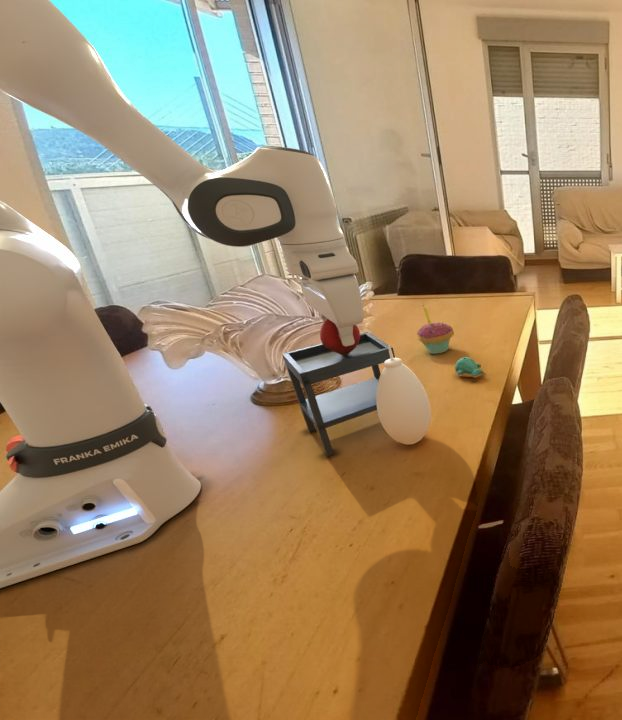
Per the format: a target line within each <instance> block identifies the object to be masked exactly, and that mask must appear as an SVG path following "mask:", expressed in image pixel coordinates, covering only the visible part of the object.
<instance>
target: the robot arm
mask: <svg viewBox="0 0 622 720" xmlns="http://www.w3.org/2000/svg"><path fill="white" fill-rule="evenodd" d="M0 92H2V93H4V94H6V95H8V96H10V97H12V98H13V99H15V100H17V101H19V102H20V103H23V104H25V105H27V106H28V107H31V108H33V109H35V110H37V111H39V112H41V113H43V114H45V115H47V116H49V117H52V118H53V119H56V120H58V121H59V122H61V123H63V124H65V125H67V126H70V127H71V128H73V129H75V130H76V131H78V132H80V133H82V134H84V135H85V136H87V137H88V138H90V139H92V140H93V141H95V142H97V143H98V144H99V145H101V146H102V147H104V148H105V149H106V150H107V151H108V152H110V153H112V155H114V156H116V157H117V158H118V159H119V160H121V161H122V162H123V163H125V164H126V165H127V166H129V167H130V168H132V169H133V170H134V171H135V172H137V173H138V174H139V175H141V176H142V177H143V178H145V179H146V180H147V181H149V182H150V183H151V184H152V185H154V186H155V187H156V188H158V190H159V191H161V192H162V193H163V195H165V196H166V197H167V198H168V199H169V201H170V202H171V204H172V205H173V208H174V209H175V210H176V212H177V213H178V215H179V217H180V218H181V219H182V220H183V222H184V223H185V225H187V226H188V228H190V229H191V230H192V231H193V232H195V233H197V234H198V235H200V236H201V237H204V238H206V239H208V240H211V241H213V242H214V243H215V242H216V243H217V244H219V245H223V246H226V247H227V246H228V247H232V248H247V247H253V246H255V245H258V244H261V243H263V242H267V241H270V240H273V239H277V241H278V244H279V247H280V250H281V254H282V257H283V260H284V262H285V263H284V264H285V265H286V270H287V272H288V274H290V275H293V276H298V281H299V284H300V287H301V291H302V295H303V299H304V301H305V302H306V304H307V306H309V307H311V308H312V309H313V310H314V311H316V312H317V313H318V314H319V316H320V319H321V320H322V323H324V322H325V321H326V320H327V319H329V320H330V321H332V322H333V323H335V324H336V327H337V328H338V332H339V335H338V336H339V339H340V343H341V344H342V345H343V346H350V345H353V344H354V343H355V341H354V337H353V325H356V326H358V325H361V324H363V323H364V318H365V312H364V306H363V305H364V304H363V300H362V295H361V290H360V289H361V288H360V286H359V282H358V278H357V277H356V275H355V274H358V273H359V265H358V263H357V261H356V259H355V258H354V257H353V255H352V254H351V252H350V251H349V247H348V244H347V242H346V238H345V237H346V236H345V233H344V232H343V230H342V229H341V226H340V224H339V221H338V207H337V203H336V199H335V196H334V193H333V190H332V187H331V184H330V183H331V182H330V180H329V178H328V175H327V172H326V171H325V168H324V165H323V163H322V162H321V161H320V159H319V158H317V157H316V156H315V155H314V154H313V153H311V152H308V151H306V150H303V149H298V148H292V147H286V146H274V145H261V146H259V147H256V149H255V150H254V151H253V152H252V153H251V154H249V155H248V156H246V157H245V158H243V159H242V160H241V161H239V162H237V163H234V164H232V165H231V166H229V167H227V168H225V169H223V170H220V171H216V170H214V169H212V168H210V167H208V166H207V165H204V164H202V162H199V161H198V160H197V159H196V158H194V157H193V156H192V155H191V154H189V153H188V152H187V150H184V148H183V147H181V146H180V145H179V144H177V143H176V142H175V141H174V140H173V139H172V138H170V137H169V136H168V135H167V134H166V133H164V131H162V130H161V129H160V128H158V127H157V126H156V125H155V124H154V123H153V122H151V120H149V119H148V118H147V117H146V116H144V114H143V113H141V112H140V110H138V109H137V108H136V107H135V105H133V103H132V102H131V101H130V100H129V99H128V98H127V97H126V95H125V94H124V93H123V92H122V90H121V88H120V87H119V86H118V85H117V83H116V81H115V80H114V78H113V77H112V74H111V73H110V72H109V70H108V68H107V66H106V65H105V63H104V61H103V59H102V58H101V56H100V54H99V53H98V51H97V50H96V48H95V47H94V45H93V44H91V42H90V41H89V40H88V39H87V38H86V37H85V35H84V34H82V32H81V31H80V30H79V29H78V28H77V27H76V26H75V25H74V24H73V22H71V20H70V19H68V17H67V16H66V15H65V14H64V13H63V12H62V11H61V10H60V9H59V8H58V7H57V6H56V5H55V4H54V3H53V2H51V0H0ZM82 280H83V271H82V267H81V264H80V263H79V261H78V259H77V258H76V256H75V255H74V254H73V252H72V251H70V249H68V248H67V247H66V246H65V245H64V244H63V243H61V242H60V241H59V240H57V239H55V238H54V237H53V236H52V235H50V234H48V233H47V232H46V231H44V230H43V229H41V228H40V227H39V226H37V225H36V224H35V223H33V222H32V221H30V220H29V219H28V218H26V217H25V216H24V215H22V214H20V213H19V212H18V211H16V210H15V209H13V208H12V207H11V206H9V205H8V204H7V203H5V202H4V201H2V200H1V199H0V405H1V406H2V407H3V409H4V410H5V412H6V414H7V415H8V417H9V418H10V420H11V421H12V423H13V425H14V426H15V427H16V429H17V431H18V432H19V434H20V435H15V436H12V437H11V438H9V439H8V442H7V443H6V446H5V451H6V453H7V454H6V457H5V458H6V460H7V465H8V466H9V467H10V469H11V471H12V472H13V473H16V475H15V476H14V477H13V478H11V480H10V481H9V482H8V483H7V484H6V485H5V486H3V488H2V489H0V589H2V588H5V587H8V586H12V585H15V584H17V583H21V582H24V581H27V580H30V579H32V578H36V577H39V576H42V575H45V574H48V573H52V572H54V571H57V570H60V569H64V568H66V567H69V566H72V565H75V564H78V563H82V562H85V561H88V560H91V559H94V558H97V557H100V556H103V555H106V554H109V553H112V552H116V551H120V550H122V549H124V548H127V547H130V546H133V545H137V544H139V543H142V542H144V541H145V540H147V539H148V538H150V537H151V536H152V535H153V534H154V533H155V532H156V531H157V530H158V529H159V528H161V526H162V525H163V524H165V523H166V522H167V521H168V520H170V519H172V518H173V517H174V516H176V515H177V514H179V513H180V512H182V511H183V510H184V509H186V507H188V506H189V505H190V504H191V503H192V502H193V501H194V500H195V499H196V498H197V496H198V495H199V494H200V491H201V490H202V489H201V488H202V484H201V481H200V480H199V479H198V478H196V477H195V476H194V475H193V474H192V473H191V472H190V471H188V469H187V468H186V467H185V466H184V465H183V464H182V463H181V461H180V460H179V458H177V456H176V454H175V453H174V452H173V451H172V449H171V448H170V446H169V445H168V443H167V442H168V441H167V435H166V432H165V430H164V427H163V425H162V424H161V421H160V419H159V418H158V416H157V414H156V413H155V412H154V410H153V409H152V407H151V406H150V405H149V404H146V403H145V402H144V400H143V398H142V396H141V394H140V392H139V390H138V387H137V385H136V383H135V382H134V380H133V377H132V375H131V374H130V371H129V370H128V368H127V366H126V364H125V360H124V359H123V357H122V355H121V354H120V351H118V348H117V347H116V346H115V343H113V340H112V339H111V337H110V335H109V334H108V332H107V331H106V329H105V327H104V325H103V323H102V322H101V319H100V318H99V316H98V314H97V312H96V310H95V308H94V307H93V305H92V302H91V301H90V299H89V298H88V295H87V294H86V291H85V289H84V286H83V281H82Z"/></svg>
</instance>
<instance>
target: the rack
mask: <svg viewBox="0 0 622 720" xmlns="http://www.w3.org/2000/svg"><path fill="white" fill-rule="evenodd" d="M388 345H389V344H388V343H386V342H385V341H384V340H382V339H380V338H379V337H378V336H375V334H372V333H371V332H370V331H366V332H363V333H360V339H359V343H358V345H357V346H356V348H355V349H354V350H352V351H351V352H350V353H349V354H348V355H346V356H342V355H340V354H338V353H336V352H334V351H332V350H330V349H328V348H326V347H325V346H324V345H323V344H322V343H319V344H315V345H311V346H306V347H302V348H299V349H294V350H292V351H287V352H283V353H281V355H282V358H283V361H284V365H285V367H286V370H287V373H288V376H289V378H290V381H291V384H292V387H293V391H294V393H295V396H296V399H297V402H298V405H299V407H300V410H301V413H302V416H303V420H304V423H305V425H306V427H307V430H308V432H309V433H312V432H314V431H317V432H318V435H319V438H320V441H321V445H322V447H323V450H324V454H325V456H326V457H329V456H332V455H334V454H335V451H334V449H333V446H332V443H331V439H330V437H329V433H328V432H327V428H331V427H333V426H336V425H339V424H341V423H344V422H347V421H350V420H353V419H355V418H356V419H357V418H358V417H361V416H364V415H367V414H369V413H372V412H375V411H377V404H376V394H377V386H378V381H379V378H380V375H381V370H380V366H379V365H380V364H381V365H382V364H384V362H385V361H386V360H388V359H390V355H389V349H388ZM390 347H391V350H392V354H393V357H394V358H396V355H395V351H394V348H393V347H392V346H391V345H390ZM370 367H371V369H372V373H373V377H372V378H369V379H366V380H363V381H359V382H356V383H353V384H350V385H346V386H343V387H340V388H337V389H333V390H331V391H327V392H324V393H321V394H318V395H315V392H314V389H313V386H312V385H314V384H317V383H321V382H323V381H326V380H330V379H333V378H337V377H340V376H344V375H347V374H351V373H354V372H357V371H361V370H364V369H367V368H370ZM303 390H304V391H303ZM304 393H305V394H304ZM305 396H306V397H305ZM316 429H317V430H316Z"/></svg>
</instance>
